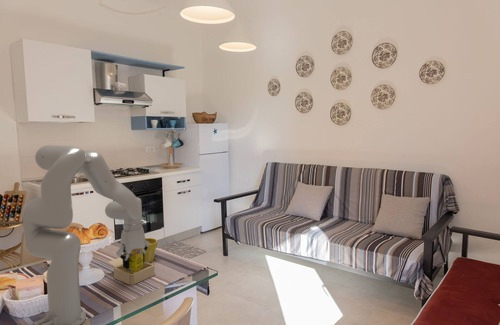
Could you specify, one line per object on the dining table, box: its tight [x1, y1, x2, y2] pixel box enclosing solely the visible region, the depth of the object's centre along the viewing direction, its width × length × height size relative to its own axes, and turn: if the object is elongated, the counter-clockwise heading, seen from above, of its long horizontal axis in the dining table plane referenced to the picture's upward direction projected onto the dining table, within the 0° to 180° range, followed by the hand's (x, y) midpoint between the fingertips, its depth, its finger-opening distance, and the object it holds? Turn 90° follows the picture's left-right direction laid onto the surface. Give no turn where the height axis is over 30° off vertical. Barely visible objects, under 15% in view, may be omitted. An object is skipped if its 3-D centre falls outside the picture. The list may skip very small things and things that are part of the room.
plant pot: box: [145, 237, 158, 263], centre depth 171 cm, size 10×10×10 cm
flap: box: [107, 257, 123, 268], centre depth 158 cm, size 11×6×1 cm, turn 146°
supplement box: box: [125, 248, 143, 274], centre depth 153 cm, size 6×6×11 cm
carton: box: [113, 261, 155, 286], centre depth 153 cm, size 13×13×5 cm
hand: (134, 264), depth 153 cm, fingers closed on supplement box, 7 cm apart
